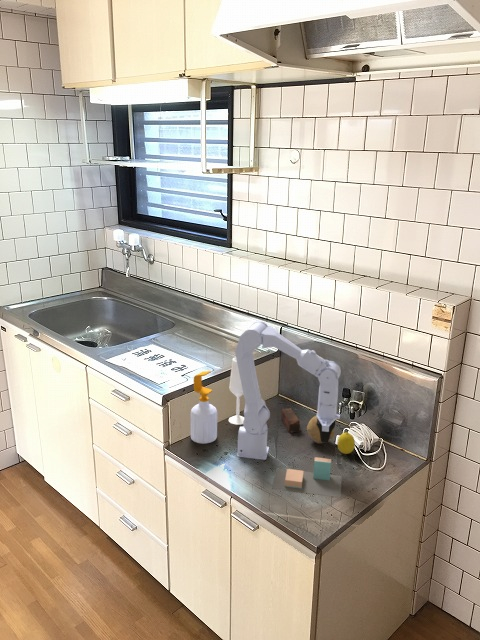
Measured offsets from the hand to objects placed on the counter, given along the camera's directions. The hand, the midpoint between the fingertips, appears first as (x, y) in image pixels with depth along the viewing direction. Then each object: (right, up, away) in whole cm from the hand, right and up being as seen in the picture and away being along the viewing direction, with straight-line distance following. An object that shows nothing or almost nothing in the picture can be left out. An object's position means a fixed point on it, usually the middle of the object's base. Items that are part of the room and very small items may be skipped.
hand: (324, 441), depth 173 cm
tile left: (-9, -9, -3) cm, 14 cm away
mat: (-6, -11, -6) cm, 14 cm away
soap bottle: (-39, -3, +19) cm, 43 cm away
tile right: (-1, -10, -3) cm, 11 cm away
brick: (-8, -1, +28) cm, 29 cm away
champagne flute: (-27, +1, +31) cm, 41 cm away
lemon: (+8, -7, +11) cm, 15 cm away
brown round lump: (+1, -4, +18) cm, 18 cm away
